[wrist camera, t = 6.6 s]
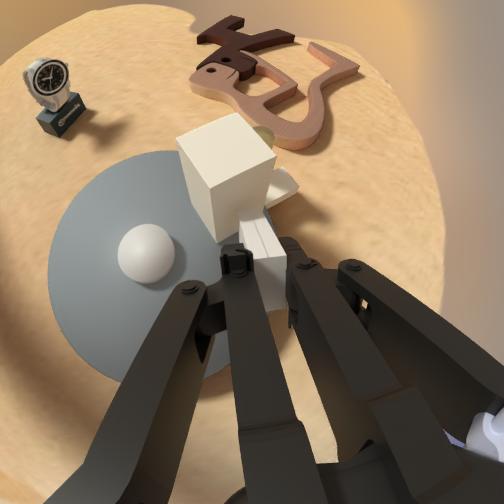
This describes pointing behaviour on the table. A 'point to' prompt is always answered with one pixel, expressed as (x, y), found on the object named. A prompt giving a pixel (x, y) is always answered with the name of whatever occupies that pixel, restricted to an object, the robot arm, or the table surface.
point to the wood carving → (246, 64)
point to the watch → (53, 95)
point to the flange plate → (156, 237)
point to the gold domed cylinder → (265, 135)
